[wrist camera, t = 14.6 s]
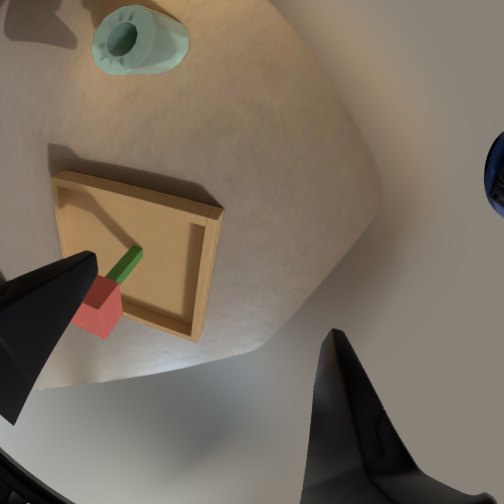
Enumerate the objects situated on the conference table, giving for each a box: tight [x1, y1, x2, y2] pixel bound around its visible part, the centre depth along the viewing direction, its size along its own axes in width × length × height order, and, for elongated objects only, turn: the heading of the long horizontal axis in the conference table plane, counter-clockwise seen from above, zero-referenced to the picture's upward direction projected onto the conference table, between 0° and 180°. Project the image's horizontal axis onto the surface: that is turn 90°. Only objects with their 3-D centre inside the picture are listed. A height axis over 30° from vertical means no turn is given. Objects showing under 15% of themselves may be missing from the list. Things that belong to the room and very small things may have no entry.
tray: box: [52, 170, 224, 343], centre depth 25 cm, size 17×15×2 cm
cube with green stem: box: [71, 246, 143, 340], centre depth 21 cm, size 3×3×9 cm
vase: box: [91, 5, 189, 75], centre depth 13 cm, size 5×5×5 cm
